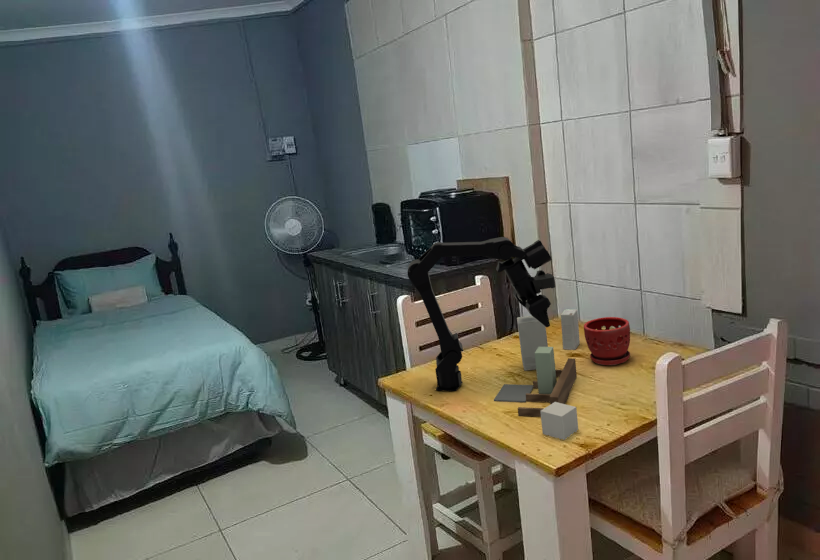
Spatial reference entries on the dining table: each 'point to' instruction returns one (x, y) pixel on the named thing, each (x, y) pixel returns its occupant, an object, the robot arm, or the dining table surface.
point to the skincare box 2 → (570, 329)
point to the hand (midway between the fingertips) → (543, 321)
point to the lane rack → (558, 393)
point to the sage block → (545, 369)
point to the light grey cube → (559, 420)
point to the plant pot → (608, 340)
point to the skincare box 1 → (530, 339)
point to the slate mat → (513, 393)
